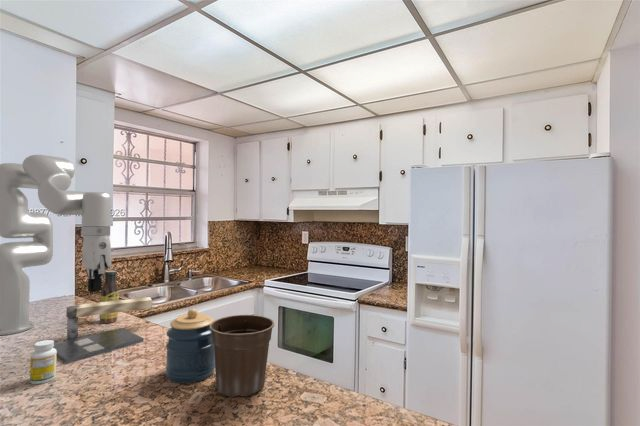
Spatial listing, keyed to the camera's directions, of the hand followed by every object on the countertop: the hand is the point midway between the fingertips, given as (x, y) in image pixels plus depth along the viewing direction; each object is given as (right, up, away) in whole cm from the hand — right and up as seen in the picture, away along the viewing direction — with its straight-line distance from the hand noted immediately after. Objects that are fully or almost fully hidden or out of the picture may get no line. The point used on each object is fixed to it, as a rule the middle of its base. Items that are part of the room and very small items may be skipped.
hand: (94, 290), depth 107 cm
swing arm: (-5, -11, +16) cm, 20 cm away
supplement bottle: (-2, -19, -17) cm, 26 cm away
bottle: (-14, -19, +29) cm, 38 cm away
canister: (+34, -20, -12) cm, 42 cm away
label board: (-5, -19, +7) cm, 21 cm away
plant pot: (+50, -21, -18) cm, 57 cm away
